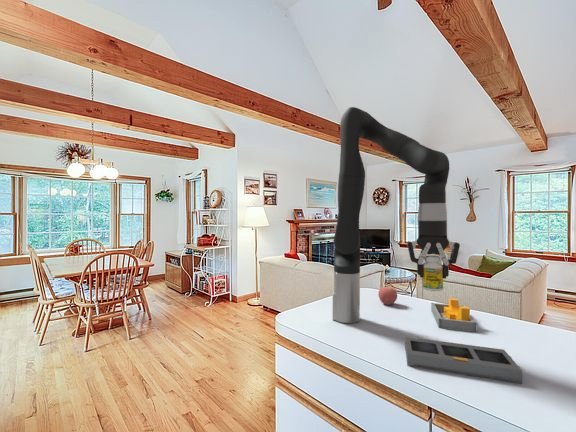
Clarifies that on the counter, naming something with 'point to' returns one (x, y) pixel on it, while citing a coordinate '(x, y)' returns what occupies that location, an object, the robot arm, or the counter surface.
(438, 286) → the supplement bottle
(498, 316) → the counter surface
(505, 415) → the counter surface
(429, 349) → the three-compartment grey tray
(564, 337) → the counter surface
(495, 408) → the counter surface
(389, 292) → the apple
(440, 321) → the clamp tray
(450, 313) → the pipe clamp
